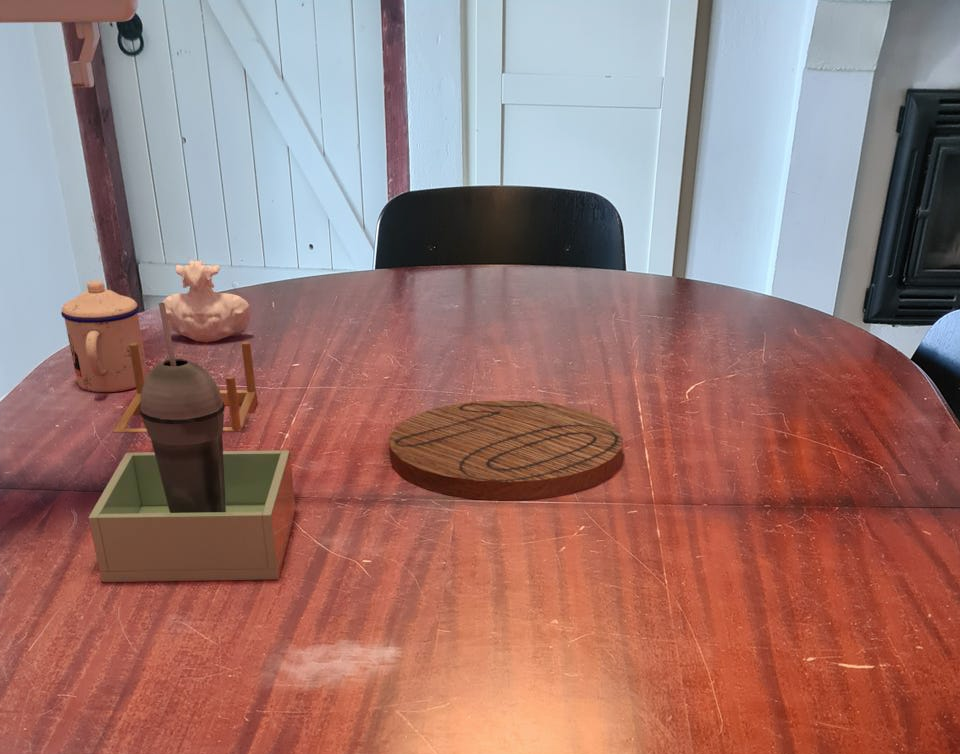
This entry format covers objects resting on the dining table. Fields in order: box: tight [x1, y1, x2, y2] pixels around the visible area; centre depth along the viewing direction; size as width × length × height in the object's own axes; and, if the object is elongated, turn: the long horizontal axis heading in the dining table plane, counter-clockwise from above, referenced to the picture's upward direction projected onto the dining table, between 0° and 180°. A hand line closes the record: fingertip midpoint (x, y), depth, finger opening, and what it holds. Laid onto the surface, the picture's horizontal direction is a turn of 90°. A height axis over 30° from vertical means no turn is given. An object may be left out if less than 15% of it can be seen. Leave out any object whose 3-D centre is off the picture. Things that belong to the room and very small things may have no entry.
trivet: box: [388, 399, 624, 501], centre depth 132 cm, size 25×25×2 cm
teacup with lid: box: [60, 280, 149, 393], centre depth 149 cm, size 12×9×12 cm
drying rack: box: [112, 341, 258, 434], centre depth 140 cm, size 14×14×7 cm
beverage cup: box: [139, 302, 226, 513], centre depth 108 cm, size 7×7×20 cm
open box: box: [88, 449, 297, 583], centre depth 113 cm, size 16×16×6 cm
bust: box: [161, 259, 251, 343], centre depth 165 cm, size 12×8×11 cm
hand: (28, 87), depth 104 cm, fingers open, 8 cm apart
